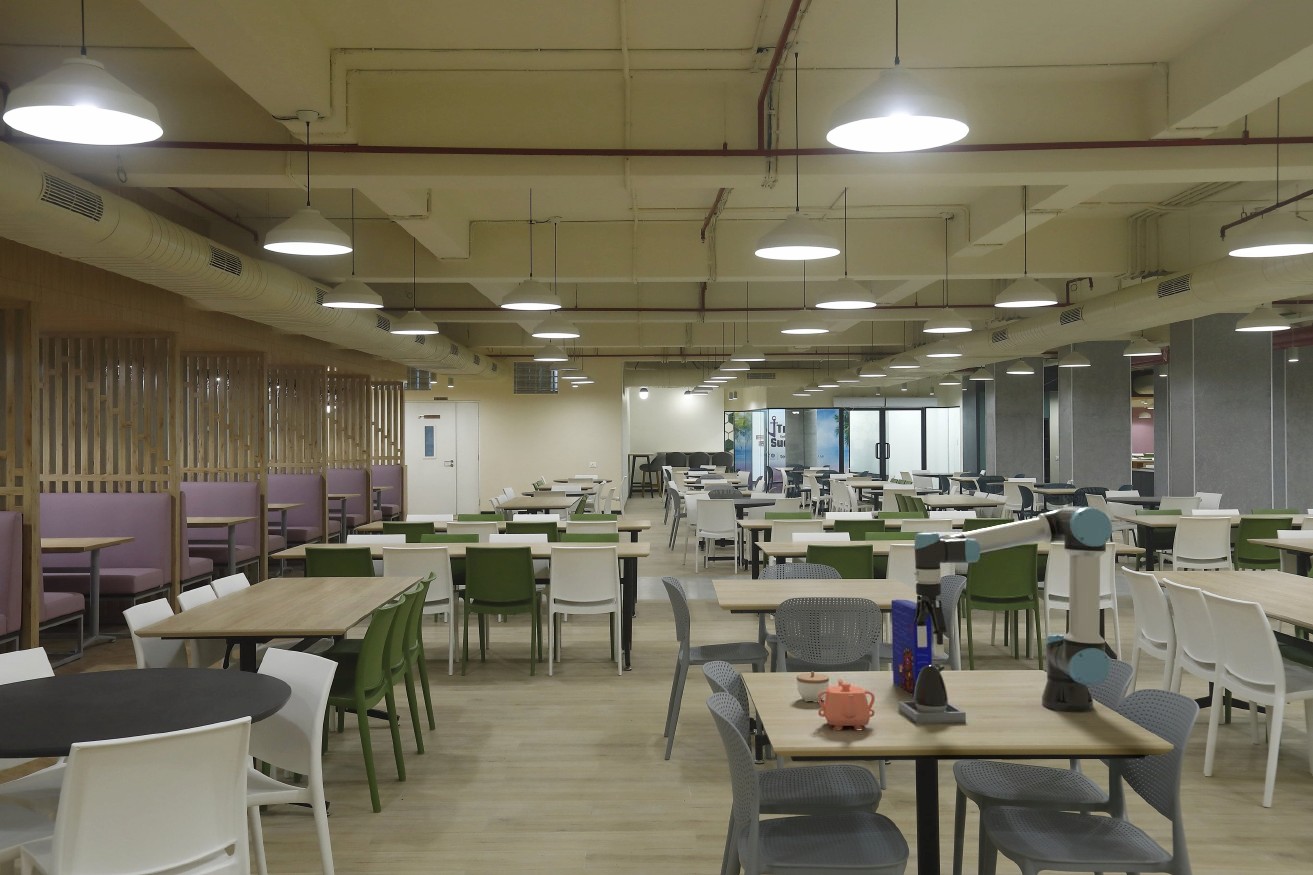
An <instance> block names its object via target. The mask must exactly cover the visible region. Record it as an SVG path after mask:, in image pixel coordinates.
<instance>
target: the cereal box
mask: <svg viewBox="0 0 1313 875" xmlns="http://www.w3.org/2000/svg"><path fill="white" fill-rule="evenodd" d="M916 605H917V602H915V601H912V600H908V599H892V600H891V635H892V636H891V639H892V682H893V684H894V683H895V684H894V685H896V684H897V685H898V686H897V685H896V686H897V687H899V686H900V687H901V688H900V687H899V688H900V689H902V688H903V689H904V691H905V692H906V691H907V692H906V693H907V694H909V693H910V695H911V694H912V695H911V696H913V697H914V692H915V686H916V682H917V679H918V676H919V673H920V671H921V669H922V668H923V667H924V666H926V665H933V647H932V646H933V645H932V621H931V618H930V615H928V617H927V620H926V623H927V624H926V625H923V626H926V632H927V647H918V634H917V625H916V623H915V622H914V618H915V611H916ZM917 619H918V618H917ZM903 689H902V690H903Z"/></svg>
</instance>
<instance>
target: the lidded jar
mask: <svg viewBox="0 0 1313 875" xmlns="http://www.w3.org/2000/svg"><path fill="white" fill-rule="evenodd" d="M829 681H830V678H829V676H828V675H826V674H824V673H823V674H821V673H815V671H811V672H809V673H801V674H798V675H797V676H796V684H797V685H796V686H797V691H798V694H799V695H800V696H801V697H802V699H803V701H805V700H806V701H805V702H807V701H813V702H812V703H816V702H815V701H818V694H819V693H820V692H821V691H824V690H827V687H830V686H829ZM825 695H826V694H822V695H821V700H822V701H823V699H825Z"/></svg>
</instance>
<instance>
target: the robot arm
mask: <svg viewBox="0 0 1313 875" xmlns="http://www.w3.org/2000/svg"><path fill="white" fill-rule="evenodd" d="M1112 534H1113V524H1112V522H1111V519H1110V518H1109V517H1108V515H1107V514H1106V513H1105V512H1103V511H1102V510H1100V509H1098V508H1095V507H1092V506H1076V505H1070V506H1065V507H1061V508H1058V509H1055V510H1050V511H1047V512H1044V513H1043V512H1042V513H1039V514H1038V515H1037V517H1034V518H1029V519H1025V520H1018V521H1014V522H1009V523H1005V524H999V525H994V526H990V527H985V528H979V529H976V530H971V531H966V532H961V533H957V534H956V533H955V534H949V535H948V534H943V535H940V534H939V533H937V532H918V533H916V534H915V535H914V559H915V560H914V563H915V571H914V572H913V573H914V574H913V575H915V581H916V584H915V593H916V603H917V605H916V611H915V618H914V622H915V623H916V625H917V634H918V647H927V632H926V626H923V625H926V624H927V623H926V620H927V617H928V615H930V618H931V625H932V628H933V631H932V634H933V650H934V652H933V653H934V656H944V655H945V649H944V648H945V647H944V646H945V645H944V644H945V643H944V641H945V640H944V634H945V633H947V631H948V630H947V625H946V622H945V617H944V616H945V615H944V613H943V608H942V601H941V600H939V599H938V600H937V597H938V596H941V595H942V584H941V583H940V582H941V581H942V576H941V575H942V574H941V573H942V572H941V564H946V563H947V564H948V563H949V564H956V563H957V564H961V563H962V564H963V563H964V564H970V563H978V562H979V560H980V558H981V553H987V552H991V551H997V550H1003V549H1006V548H1007V549H1008V548H1012V547H1017V546H1022V545H1027V544H1033V543H1037V542H1038V543H1039V542H1042V541H1043V542H1045V543H1047V544H1048V543H1054V542H1064V550H1065V552H1066V553H1068V555H1069V577H1068V578H1069V581H1068V583H1069V586H1068V587H1069V590H1068V591H1069V594H1068V596H1069V598H1068V599H1069V600H1068V601H1069V602H1068V604H1069V605H1068V632H1067V633H1066V634H1064V633H1062V634H1061V633H1055V634H1048V635H1047V636H1046V638H1045V640H1046V641H1045V651H1046V652H1045V653H1046V655H1045V656H1046V658H1045V660H1046V683H1045V687H1044V689H1043V691H1042V692H1043V693H1042V696H1041V704H1042V705H1043V707H1044V708H1045V707H1046V708H1048V709H1052V710H1056V711H1062V712H1075V713H1077V712H1078V713H1079V712H1080V713H1081V712H1089V711H1092V710H1094V701H1093V698H1092V694H1091V692H1090V689H1089V686H1097V685H1100V684H1101V683H1103V682H1105V681H1106V680H1107V678H1108V677H1109V676H1110V673H1111V670H1112V662H1111V660H1110V658H1109V656H1108V655H1107V653H1106V651H1105V650H1106V641H1105V639H1104V638H1103V637H1102V636H1101V634H1100V625H1101V624H1100V622H1101V620H1100V618H1101V617H1100V615H1101V614H1100V610H1101V607H1100V606H1101V603H1100V602H1101V595H1100V594H1101V593H1100V592H1101V557H1102V556H1103V555H1104V554H1105V553H1106V550H1107V549H1106V547H1107V542H1108V541H1109V540H1110V539H1111V537H1112ZM917 618H918V619H917Z"/></svg>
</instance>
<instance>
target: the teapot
mask: <svg viewBox="0 0 1313 875" xmlns="http://www.w3.org/2000/svg"><path fill="white" fill-rule="evenodd" d="M837 682H838V685H837V686H835V685H834V686H832V685H831V686H829V687H827V690H824V691H821V692H820V693H819V694H818V701H819V702H818V704H819V706H820V709H818V712H817V713H818V716H820V717H822V718H823V717H824V718H825V720H826V721H827V723H828V724H829V725H831V726H834V727H833V730H835V729H842V730H843V727H845V726H847V727H848V726H849V727H850V726H851V727H854V728H853V729H854V730H855V729H863V730H864V728H863V726H868V725H869V722H870V719H871V718H872V717H874V716H875V713H876V712H875V710H874V709H873V708H872V707H873V705H874V703H875V699H876V698H875V695H874V693H873V692H872V691H870V690H868V689H867V690H864V689H863V688H862V687H861V686H857V685H856V686H855V685H854V686H853V685H852V684H851V683H848V682H844V680H843V679H840V678H839V679H837ZM851 685H852V686H851ZM822 694H826V695H825V697H824V701H823V700H822V701H823V702H822V701H821V695H822ZM866 694H868V695H870V697H871V698H870V702H868V698H867V695H866ZM822 712H823V713H822ZM870 712H871V713H870Z"/></svg>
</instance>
